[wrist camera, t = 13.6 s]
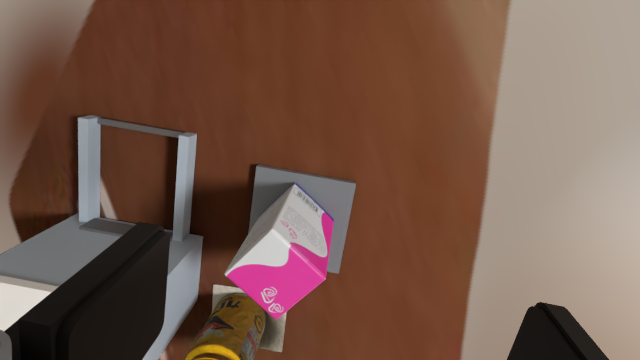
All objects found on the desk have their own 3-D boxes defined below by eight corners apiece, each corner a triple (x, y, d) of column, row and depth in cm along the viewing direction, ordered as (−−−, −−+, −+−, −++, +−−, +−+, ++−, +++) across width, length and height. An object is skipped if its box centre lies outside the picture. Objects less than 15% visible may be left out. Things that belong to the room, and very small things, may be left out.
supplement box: (255, 219, 41) (220, 273, 30) (295, 180, 40) (273, 223, 29) (296, 256, 42) (275, 323, 31) (336, 220, 41) (330, 277, 30)
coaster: (258, 164, 41) (256, 166, 40) (355, 181, 40) (355, 183, 40) (247, 253, 43) (245, 256, 43) (338, 270, 43) (338, 273, 42)
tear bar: (101, 117, 41) (97, 117, 40) (186, 131, 40) (183, 132, 40) (101, 122, 41) (97, 123, 40) (185, 137, 41) (183, 138, 40)
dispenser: (74, 112, 41) (-60, 134, 28) (213, 136, 40) (144, 171, 27) (76, 279, 46) (-35, 364, 33) (199, 302, 46) (135, 398, 32)
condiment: (213, 283, 45) (165, 358, 33) (288, 295, 45) (265, 374, 33) (210, 338, 47) (164, 427, 35) (282, 350, 47) (258, 443, 35)
